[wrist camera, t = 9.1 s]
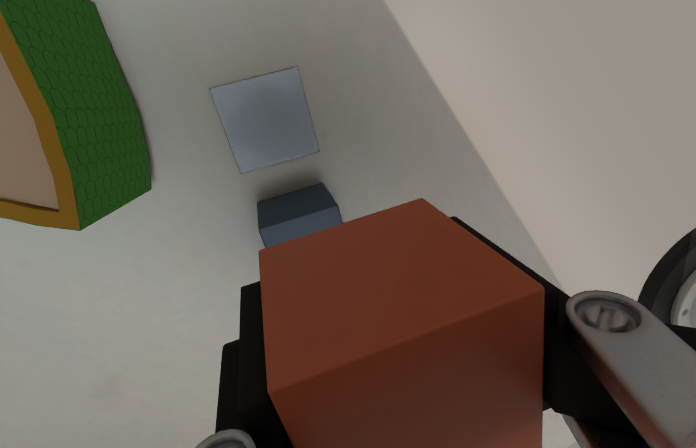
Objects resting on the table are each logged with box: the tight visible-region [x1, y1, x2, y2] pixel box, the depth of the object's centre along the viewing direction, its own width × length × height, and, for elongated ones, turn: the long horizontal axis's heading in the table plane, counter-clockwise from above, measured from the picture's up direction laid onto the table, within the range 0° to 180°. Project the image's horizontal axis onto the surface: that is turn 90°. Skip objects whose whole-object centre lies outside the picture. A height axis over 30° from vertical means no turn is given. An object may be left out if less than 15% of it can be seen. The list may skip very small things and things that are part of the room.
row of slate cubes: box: [210, 67, 342, 248], centre depth 25 cm, size 5×26×5 cm, turn 13°
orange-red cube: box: [259, 198, 545, 448], centre depth 9 cm, size 5×5×5 cm
